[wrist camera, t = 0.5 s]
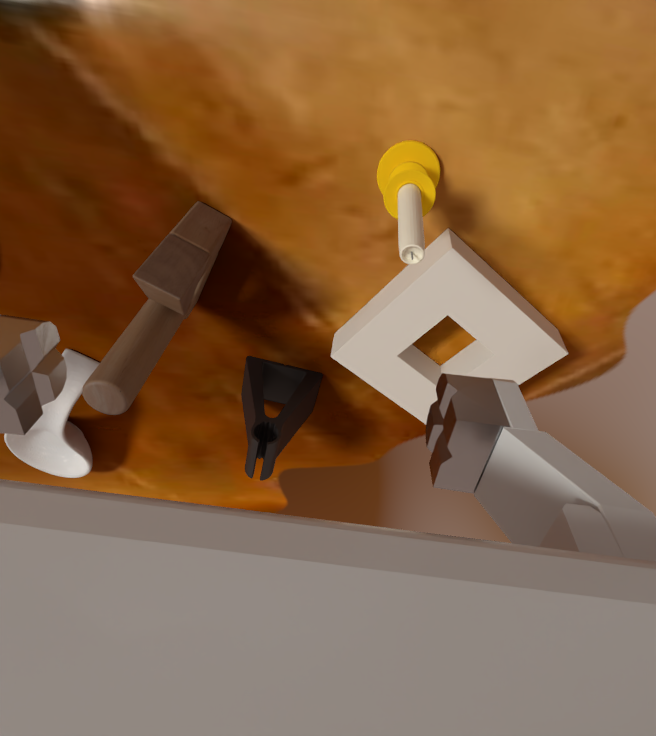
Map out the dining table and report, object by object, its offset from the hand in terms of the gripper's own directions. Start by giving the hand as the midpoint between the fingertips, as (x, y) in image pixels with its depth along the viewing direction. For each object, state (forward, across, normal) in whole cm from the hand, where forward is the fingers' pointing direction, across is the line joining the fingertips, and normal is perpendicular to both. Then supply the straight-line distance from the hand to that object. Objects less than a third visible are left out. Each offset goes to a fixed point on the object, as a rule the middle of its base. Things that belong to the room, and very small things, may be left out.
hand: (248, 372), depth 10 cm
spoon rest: (+40, +32, +39) cm, 64 cm away
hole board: (+35, -13, +18) cm, 42 cm away
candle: (+34, -7, +3) cm, 35 cm away
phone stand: (+37, +3, +28) cm, 47 cm away
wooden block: (+36, +12, +13) cm, 40 cm away
